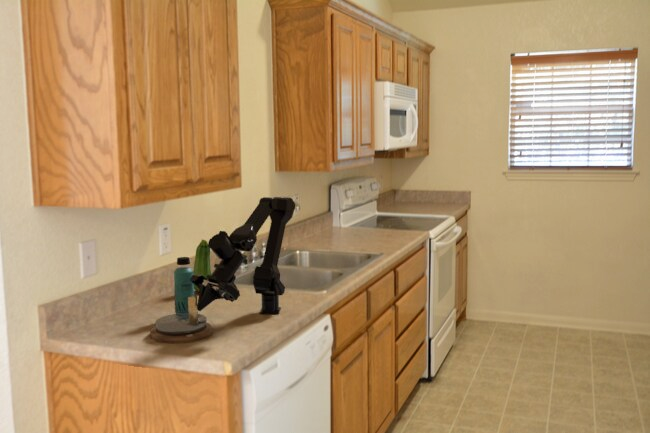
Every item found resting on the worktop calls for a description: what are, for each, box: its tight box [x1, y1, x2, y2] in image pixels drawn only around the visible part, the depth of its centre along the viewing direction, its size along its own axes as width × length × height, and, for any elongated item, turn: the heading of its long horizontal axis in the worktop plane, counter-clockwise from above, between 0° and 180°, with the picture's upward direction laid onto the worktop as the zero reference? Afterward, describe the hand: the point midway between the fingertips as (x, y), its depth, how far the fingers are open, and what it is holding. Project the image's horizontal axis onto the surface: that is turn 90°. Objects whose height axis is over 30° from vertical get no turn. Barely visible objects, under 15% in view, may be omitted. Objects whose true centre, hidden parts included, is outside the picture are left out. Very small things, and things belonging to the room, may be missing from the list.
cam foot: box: [154, 295, 208, 336], centre depth 202 cm, size 15×15×10 cm
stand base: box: [150, 322, 213, 344], centre depth 203 cm, size 18×18×2 cm
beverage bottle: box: [173, 256, 196, 314], centre depth 218 cm, size 6×7×20 cm
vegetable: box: [193, 238, 212, 293], centre depth 253 cm, size 7×7×20 cm
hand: (198, 310), depth 198 cm, fingers closed, pressing on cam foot
